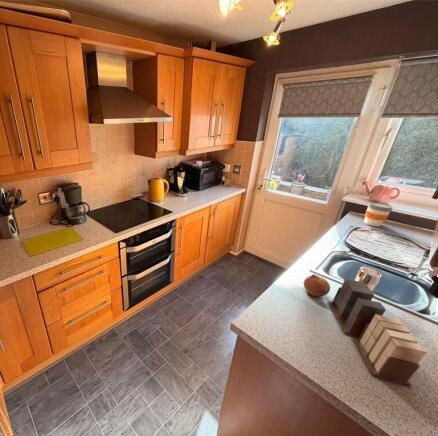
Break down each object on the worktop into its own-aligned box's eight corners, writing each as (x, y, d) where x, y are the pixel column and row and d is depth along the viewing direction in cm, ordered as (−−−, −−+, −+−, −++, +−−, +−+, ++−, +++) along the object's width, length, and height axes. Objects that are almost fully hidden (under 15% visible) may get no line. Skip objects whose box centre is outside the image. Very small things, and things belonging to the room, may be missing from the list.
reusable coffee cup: (385, 229, 161) (395, 209, 154) (362, 224, 167) (371, 205, 161) (381, 222, 170) (390, 203, 164) (359, 218, 177) (367, 200, 170)
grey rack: (353, 308, 96) (367, 281, 90) (374, 340, 83) (392, 312, 77) (328, 302, 99) (340, 277, 93) (344, 333, 85) (359, 305, 79)
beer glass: (365, 307, 97) (381, 279, 90) (345, 298, 101) (358, 271, 95) (368, 299, 101) (383, 272, 94) (348, 291, 105) (361, 264, 99)
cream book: (392, 362, 74) (412, 334, 69) (397, 369, 72) (418, 341, 67) (368, 356, 76) (385, 329, 71) (372, 363, 74) (390, 335, 69)
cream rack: (384, 347, 80) (403, 318, 74) (409, 385, 69) (434, 355, 63) (353, 339, 83) (369, 311, 77) (372, 375, 72) (393, 346, 66)
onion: (302, 293, 108) (299, 272, 108) (325, 292, 105) (322, 270, 105) (310, 301, 99) (306, 278, 99) (336, 300, 96) (332, 276, 96)
